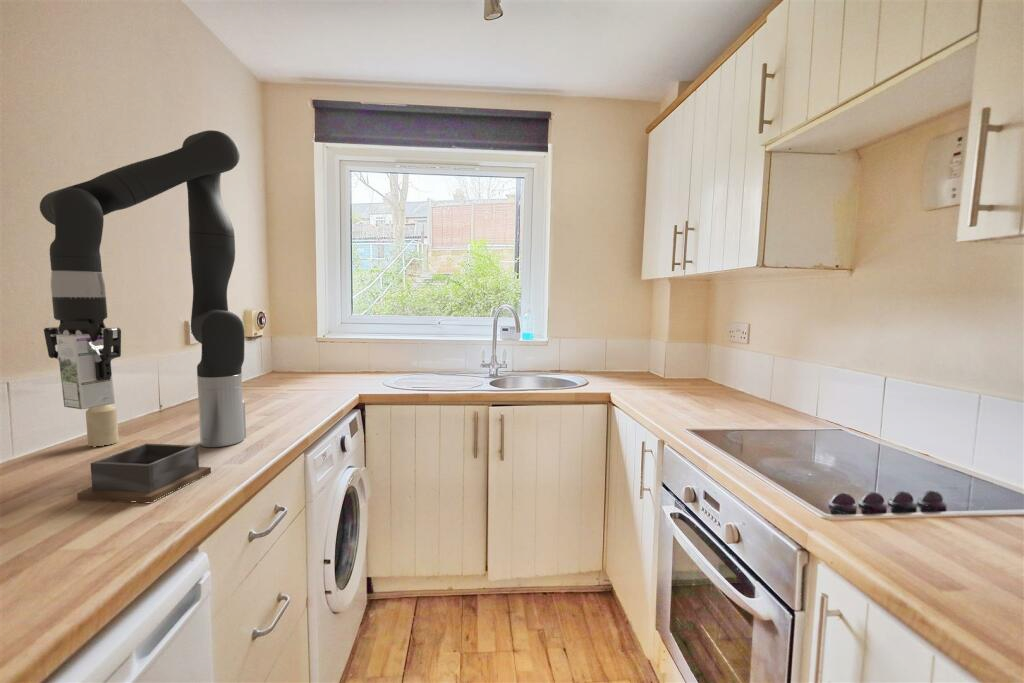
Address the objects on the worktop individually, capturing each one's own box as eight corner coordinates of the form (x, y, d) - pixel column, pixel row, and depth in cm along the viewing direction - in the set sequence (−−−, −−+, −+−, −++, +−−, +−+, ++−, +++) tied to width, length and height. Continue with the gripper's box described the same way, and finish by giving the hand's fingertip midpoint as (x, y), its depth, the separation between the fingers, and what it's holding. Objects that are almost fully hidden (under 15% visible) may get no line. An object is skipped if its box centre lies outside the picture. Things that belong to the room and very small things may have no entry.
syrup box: (116, 403, 90) (110, 332, 88) (80, 410, 84) (73, 334, 83) (98, 401, 91) (92, 331, 90) (61, 407, 86) (54, 333, 84)
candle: (122, 443, 109) (119, 403, 108) (92, 449, 104) (89, 407, 103) (114, 439, 112) (111, 400, 111) (84, 444, 107) (82, 404, 106)
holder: (147, 469, 92) (146, 441, 92) (210, 472, 91) (209, 443, 91) (77, 499, 78) (75, 465, 78) (150, 503, 77) (149, 469, 77)
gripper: (132, 295, 89) (138, 377, 90) (66, 295, 90) (73, 375, 91) (94, 295, 81) (102, 384, 83) (23, 295, 82) (32, 382, 84)
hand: (87, 379), depth 87 cm, fingers closed on syrup box, 6 cm apart
